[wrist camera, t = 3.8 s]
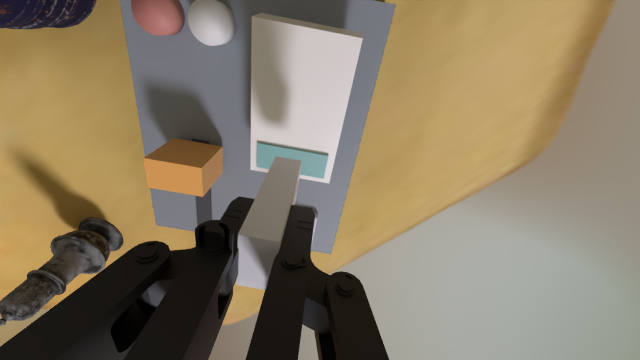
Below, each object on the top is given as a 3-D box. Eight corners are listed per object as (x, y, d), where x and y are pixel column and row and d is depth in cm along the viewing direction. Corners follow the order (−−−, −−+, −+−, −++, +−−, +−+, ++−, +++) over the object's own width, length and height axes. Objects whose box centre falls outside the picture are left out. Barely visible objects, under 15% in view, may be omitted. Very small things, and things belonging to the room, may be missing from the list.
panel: (150, -38, 20) (92, -60, 15) (385, 9, 21) (400, 2, 16) (176, 204, 31) (147, 236, 26) (331, 230, 32) (330, 266, 27)
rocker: (261, 12, 16) (250, 16, 14) (361, 32, 16) (363, 38, 14) (257, 155, 22) (249, 171, 20) (330, 168, 22) (329, 185, 20)
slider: (174, 137, 22) (143, 157, 18) (222, 146, 22) (201, 168, 19) (176, 163, 23) (148, 187, 20) (222, 172, 23) (203, 196, 20)
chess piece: (76, 209, 32) (-50, 295, 22) (127, 226, 33) (30, 317, 22) (77, 242, 35) (-35, 334, 24) (124, 258, 36) (35, 352, 25)
